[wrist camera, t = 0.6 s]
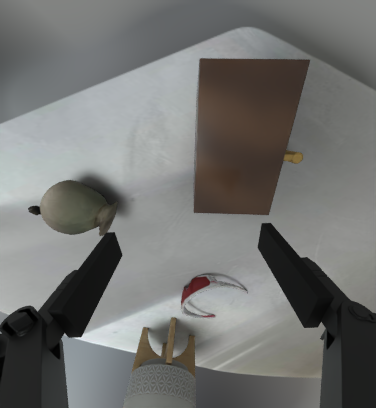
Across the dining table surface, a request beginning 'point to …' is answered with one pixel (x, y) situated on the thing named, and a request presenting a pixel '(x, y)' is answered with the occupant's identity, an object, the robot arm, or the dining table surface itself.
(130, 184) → the dining table surface
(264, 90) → the cupboard
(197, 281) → the sunglasses
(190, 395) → the planter
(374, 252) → the dining table surface
